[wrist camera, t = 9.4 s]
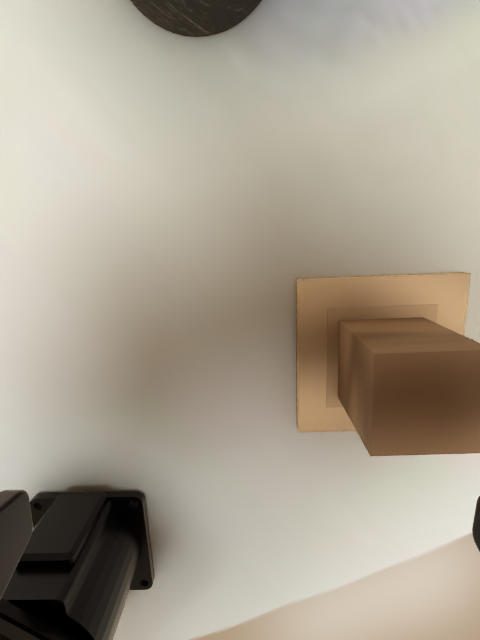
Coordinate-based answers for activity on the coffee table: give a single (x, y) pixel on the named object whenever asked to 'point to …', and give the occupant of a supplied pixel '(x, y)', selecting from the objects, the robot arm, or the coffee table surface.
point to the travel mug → (196, 14)
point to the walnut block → (410, 386)
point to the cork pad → (356, 304)
